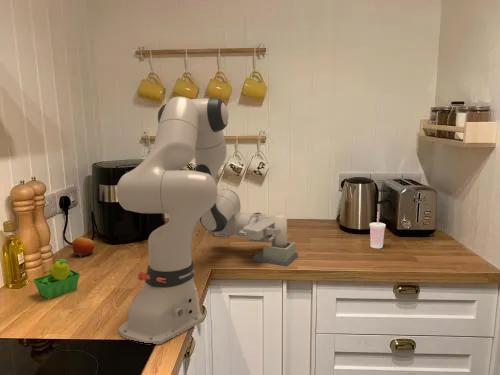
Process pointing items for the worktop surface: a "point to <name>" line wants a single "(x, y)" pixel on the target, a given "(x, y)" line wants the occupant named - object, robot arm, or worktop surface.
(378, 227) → the beverage cup
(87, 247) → the fruit
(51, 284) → the fruit basket
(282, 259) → the cradle jig
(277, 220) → the tall white cylinder
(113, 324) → the worktop surface
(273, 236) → the packaged product
